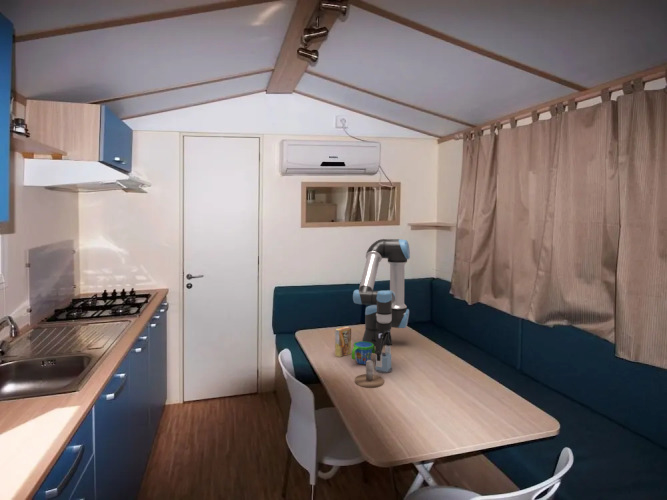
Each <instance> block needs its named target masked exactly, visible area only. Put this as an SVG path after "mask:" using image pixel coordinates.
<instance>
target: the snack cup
mask: <svg viewBox="0 0 667 500" xmlns="http://www.w3.org/2000/svg"><path fill="white" fill-rule="evenodd" d="M375 348H376V346H374V344H373V343H371V342H366V341H362V340H360V341H356V342H354V343H353V348H352V349H351V359H352V360H356V363H357V364H358V365H359V364H360V365H366V361H368V360H371V361H372V354H373V355H375Z"/></svg>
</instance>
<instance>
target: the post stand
mask: <svg viewBox="0 0 667 500" xmlns="http://www.w3.org/2000/svg"><path fill="white" fill-rule="evenodd" d="M354 382H355V384H356V385H357V386H359V387H362V388H369V389H374V388H379V387H382V386H383V385H385V379H384V378H383V376H381V375H378V374H374V361H373V360H372V359H371V360H368V361H366V364H365V373H364V374H359V375H357V376H355V378H354Z"/></svg>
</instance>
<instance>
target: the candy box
mask: <svg viewBox="0 0 667 500" xmlns="http://www.w3.org/2000/svg"><path fill="white" fill-rule="evenodd" d="M334 333H335V335H334V339H335V342H334V343H335V345H334V349H335V351H334V355H335V356H336V357H339V358H340V357H341V358H342V357H343V356H348V355H352V327H350V326H342V327H339V328H335V332H334Z"/></svg>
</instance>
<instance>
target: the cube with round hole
mask: <svg viewBox="0 0 667 500" xmlns="http://www.w3.org/2000/svg"><path fill="white" fill-rule="evenodd" d="M381 354H382V367H377V366H376V365H375V367H376V370H379V371H385V372H388V371H389V370H390V369H391V368H392V354H387V353H385V352H382V353H381Z"/></svg>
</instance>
